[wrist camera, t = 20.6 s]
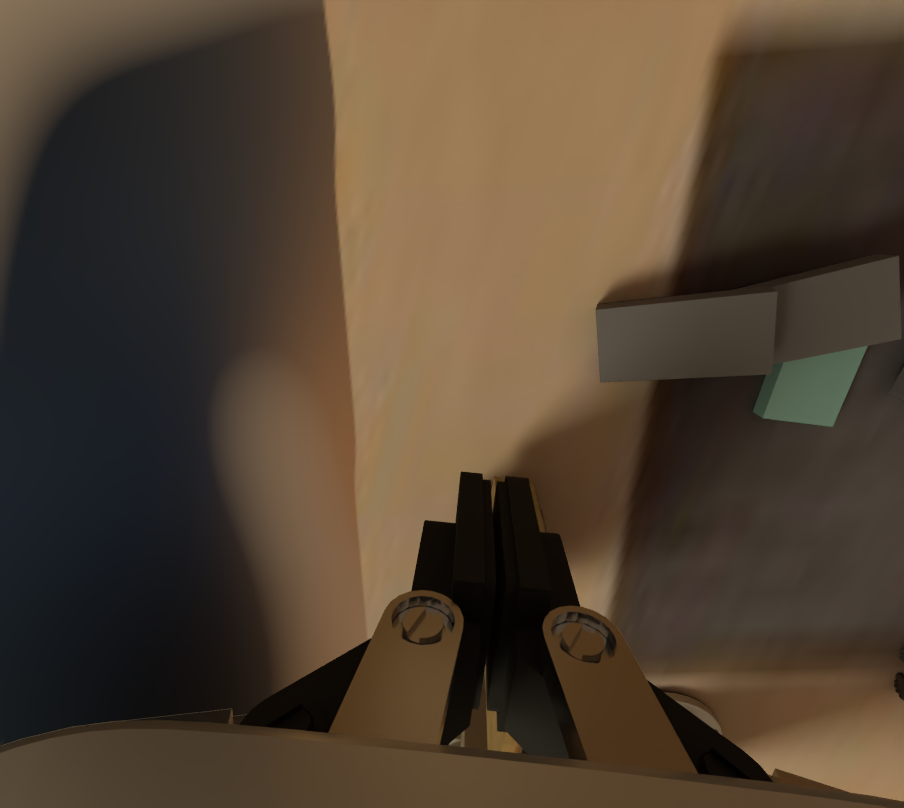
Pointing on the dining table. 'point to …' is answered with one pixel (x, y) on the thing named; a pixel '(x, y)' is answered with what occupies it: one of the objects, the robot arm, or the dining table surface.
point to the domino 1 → (688, 336)
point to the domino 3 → (809, 388)
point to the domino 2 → (837, 307)
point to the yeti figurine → (900, 679)
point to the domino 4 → (898, 387)
